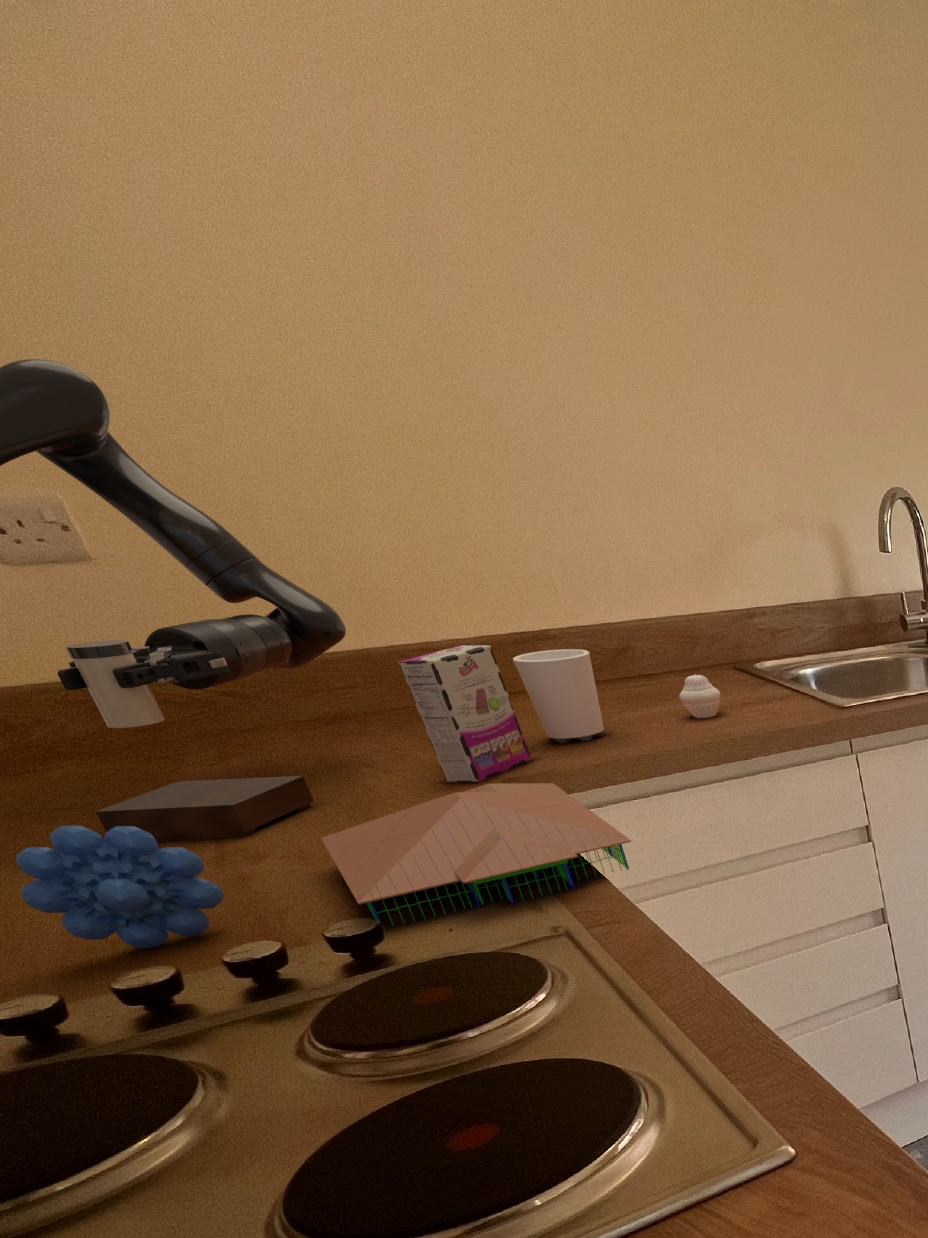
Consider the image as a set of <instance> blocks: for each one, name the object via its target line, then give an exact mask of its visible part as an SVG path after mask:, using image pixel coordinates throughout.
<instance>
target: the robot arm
mask: <svg viewBox="0 0 928 1238" xmlns="http://www.w3.org/2000/svg"><path fill="white" fill-rule="evenodd" d="M110 411H111V410H110V406H109V403H108V400H107V398H106V395H105V394H104V391H102V389H101V388H100V386H99V385H98V384H97V383H96V382H95V381H94V380H92V378H90V377H89V376H88V375H86V374H85V373H83V372H82V371H79V370H78V369H76V368H73V367H71V366H69V365H66V364H64V363H61V362H57V361H53V360H46V359H40V358H37V359H36V358H35V359H33V358H31V359H30V358H26V359H19V360H14V361H11V362H8V363H6V364H3V365H1V366H0V467H1V466H3V465H5V464H7V463H10V462H11V461H13V460H16V459H18V458H21V457H23V456H26V455H29V454H31V453H34V452H36V453H37V454H39V455H40V456H41V457H43V458H45V459H46V460H47V461H48V462H51V463H52V464H53V465H55V466H57V467H58V468H59V469H60V470H62V471H64V472H65V473H67V474H68V475H70V476H71V477H72V478H74V479H76V480H77V481H78V482H80V484H82V485H83V486H85V487H86V488H88V489H89V490H90V491H92V492H93V493H94V494H96V495H97V496H98V497H100V498H101V499H102V500H104V501H105V502H106V503H108V504H109V505H111V506H112V507H113V508H114V509H116V510H117V511H118V512H119V513H120V514H122V515H123V516H124V517H126V518H127V519H128V520H129V521H131V522H132V523H133V524H134V525H136V527H138V528H139V529H140V530H142V532H144V533H145V534H146V535H148V537H150V538H151V539H152V540H153V541H154V542H156V543H157V544H158V545H159V546H160V547H161V548H162V549H163V550H164V551H166V552H167V553H168V554H169V555H170V556H172V558H174V559H175V560H176V561H177V562H178V563H179V564H181V565H182V566H183V567H184V568H185V569H186V570H187V571H188V572H189V573H191V574H192V576H194V577H195V578H197V580H198V581H200V583H202V584H203V585H205V587H207V588H208V589H209V590H210V591H211V592H213V594H215V595H216V596H217V597H218V598H220V599H222V600H223V601H225V602H227V603H230V604H240V603H244V602H247V601H250V600H253V599H255V598H259V599H262V600H263V601H266V602H268V603H270V604H272V605H273V606H274V607H275V608H274V609H272V610H271V611H270V612H268V613H267V614H266V615H260V614H254V613H253V614H252V613H251V614H238V615H232V616H228V617H223V618H209V619H200V620H195V621H189V622H186V623H180V624H176V625H170V626H165V627H160V628H157V629H155V630H153V631H152V632H151V633H150V634H149V635H148V636H147V637H146V640H145V642H144V645H143V646H137V647H131V648H132V650H133V652H132V653H133V655H134V657H135V659H136V661H137V664H133V665H128V666H124V667H119V668H115V669H113V674H114V676H115V678H116V680H117V682H118V684H119V686H120V687H121V688H134V687H138V686H142V685H146V684H148V685H149V684H171V685H175V686H176V687H179V688H182V689H187V690H192V691H193V690H194V691H196V690H197V691H198V690H205V689H209V688H212V687H215V686H219V685H223V684H227V683H230V682H234V681H237V680H242V679H245V678H247V677H249V676H251V675H253V674H255V673H259V672H262V671H266V670H271V669H281V670H291V669H296V668H297V669H298V668H300V667H302V666H304V665H305V666H306V665H307V664H309V663H311V662H313V661H314V660H315V659H317V658H319V656H321V655H323V654H324V653H326V652H327V651H328V650H330V649H331V648H333V647H334V646H336V645H337V644H339V643H340V642H341V641H343V639H344V638H345V636H346V633H347V631H346V629H347V628H346V625H345V623H344V620H343V619H342V618H341V616H340V614H339V613H338V612H337V611H336V610H335V608H334V607H332V606H331V605H330V604H329V603H327V602H326V601H324V600H322V599H321V598H320V597H318V596H316V595H315V594H313V593H311V592H309V591H307V590H306V589H304V588H302V587H301V586H298V585H297V584H296V583H294V582H292V581H291V580H290V579H288V578H286V577H285V576H283V575H281V574H280V573H278V572H277V571H275V570H273V569H272V568H271V567H269V566H268V565H266V564H265V563H264V561H262V560H260V558H258V556H257V555H256V554H255V553H253V552H252V551H251V550H250V549H249V548H248V547H247V546H245V545H244V543H242V542H241V541H240V540H239V539H238V538H237V537H236V536H235V535H233V534H232V533H231V532H230V531H229V530H227V529H226V528H225V527H224V526H223V525H222V524H221V523H219V522H218V521H216V519H214V518H212V517H211V516H210V515H209V514H207V513H205V512H204V511H203V510H201V509H200V508H198V507H196V506H195V505H194V504H192V503H191V502H189V501H187V500H186V499H185V498H183V497H181V496H179V495H178V494H176V493H175V492H173V491H172V490H170V489H169V488H168V487H166V486H165V485H164V484H162V483H161V482H160V481H158V480H157V479H156V478H154V477H153V476H152V475H151V474H149V473H148V471H146V470H145V469H144V468H143V467H142V466H141V465H140V464H138V462H137V461H135V460H134V458H133V457H131V456H130V454H129V453H128V452H127V451H126V450H125V449H124V448H123V447H122V446H121V444H120V443H119V442H118V441H117V440H116V439H115V437H114V436H113V435H112V434H111V433H110V432H109V428H110V420H111V412H110ZM68 666H69V667H68V668H63V669H59V670H58V671H57V673H56V674H57V676H58V678H59V680H60V681H61V684H62V686H63V688H64V689H65V690H67V691H78V690H82V689H86V688H87V686H86V684H85V682H84V680H83V678H82V676H81V674H80V672H79V670H78V669H77V667H76V665H75V663H74V661H73V660H71V661H70V662H68ZM87 689H88V688H87Z"/></svg>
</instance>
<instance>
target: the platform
mask: <svg viewBox="0 0 928 1238" xmlns="http://www.w3.org/2000/svg"><path fill="white" fill-rule="evenodd" d="M314 802H315V800H314V797H313V795H312V793H311V790H310V788H309V786H308V784H307V782H306V780H305V777H304V776H303V775H288V776H287V775H286V776H268V777H266V776H263V777H245V778H223V779H222V778H221V779H203V780H202V779H201V780H199V779H198V780H180V781H175V782H173V783H170V784H168V785H167V784H166V785H165V786H162V787H159V788H156V789H154V790H151V791H147V792H145V793H143V794H140V795H137V796H135V797H131V798H128V799H127V800H123V801H120V802H118V803H114V804H112V805H110V806H109V805H108V806H107V807H104V808H102V809H98V810H96V811H95V815H96V816H97V818H98V820H99V822H100V823H101V825H102V827H103V830H104V831H105V833H107V832H108V831H109V830H111V829H112V828H114V827H116V826H134V827H137V828H139V829H141V830H144V831H146V832H148V833H150V834H152V836H153V837H154V838H155V839H156V841H157V842H167V841H186V840H187V841H188V840H205V839H206V840H207V839H223V838H225V839H226V838H243V837H246V836H248V835H251V834H254V833H255V832H257V828H259V827H261V826H263V825H266V824H268V823H270V822H272V821H274V820H276V819H278V818H281V817H283V816H285V815H287V814H290V813H292V812H302V811H304V810H305V809H308V808H311V807H312V806H311V804H312V803H314Z"/></svg>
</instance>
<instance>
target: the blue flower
mask: <svg viewBox="0 0 928 1238" xmlns="http://www.w3.org/2000/svg"><path fill="white" fill-rule="evenodd" d="M49 842H50V843H51V845H52V846H53V848H51V847H48V846H47V847H46V846H32V847H31V846H29V847H26V848H25V849H23V850H21V851H20V852H19V853H17V854H16V857H15V863H16V865H17V866H18V868H19V869H20V870H21V871H22V873H23V874H25V875H26V876H30V877H32V878H34V879H35V880H31V881H30V882H28V883H26V884H25V885H24V886H22V887H21V890H20V897H21V898H22V900H23V902H25V904H26V905H27V906H28V907H30V908H32V909H34V910H37V911H40V912H43V913H45V914H62V915H61V918H60V919H61V920H60V924H61V926H62V927H63V928H64V929H65V931H66V932H67V933H68V934H69V935H72V936H74V937H77V938H80V939H81V940H86V941H97V940H106V939H107V938H109V937H110V936H112V935H113V934H115V933H116V935H117V936H118V938H119V939H120V940H121V942H122V943H124V944H127V945H129V946H132V947H134V948H136V949H137V948H138V949H154V948H157V947H160V946H161V945H163V944H164V943H166V942H167V941H168V938H169V933H168V932H171V933H173V934H176V935H178V936H182V937H192V936H193V937H195V936H200V935H201V934H203V933H204V932H206V931H207V930H209V929H210V923H211V922H210V919H209V917H208V916H207V915H206V914H205V912H204V911H202V910H209V909H214V908H215V907H217V906H218V905H220V904H221V903H223V901H224V893H223V891H222V890H221V888H220V887H219V886H218V885H217V884H216V883H214V882H211V881H209V880H207V879H205V878H202V877H197V876H199V875H201V874H202V873H203V872H204V867H205V864H204V862H203V860H202V858H201V857H200V856H199V855H198V854H197V853H195V852H193V851H190V850H188V849H186V848H184V847H181V846H179V847H174V846H173V847H172V846H171V847H166V846H165V847H162V848H160V849H159V843H158V841H156V839H155V838H154V837H153V836H152V834H150V833H148V832H146V831H144V830H141V829H139V828H137V827H134V826H116V827H114V828H112V829H111V830H109V831H108V832H107V833H106V832H105V833H104V838H103V837H102V835H101V834H100V833H98V832H96V831H94V830H93V829H90V828H88V827H85V826H82V825H61V826H59V827H57V828H55V829H53V830H52V831H51V832H50V835H49ZM36 879H37V880H36Z"/></svg>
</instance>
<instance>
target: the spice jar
mask: <svg viewBox="0 0 928 1238" xmlns="http://www.w3.org/2000/svg"><path fill="white" fill-rule="evenodd" d="M64 648H65V651H66V652H67V654H68V656H69V658H70V659H72V661H74V663H75V665H76V667H77V669H78V670H79V672H80V674H81V676H82V678H83V680H84V682H85V684H86V686H87V689H88V691H89V694H90V695H91V698H92V699H93V702H94V703H95V705H96V707H97V709H98V711H99V713H100V715H101V716H102V719H103V720H104V722H105V724H106V726H107V728H110V729H127V728H137V727H143V726H150V725H155V724H159V723H162V722H164V721H166V718H165V716H164V714H163V712H162V710H161V708H160V706H159V703H158V701H157V700H156V698H155V696H154V693H153V691H152V689H151V688H150V685H149V684H146V685H142V686H138V687H134V688H121V687H120V686H119V684H118V682H117V680H116V678H115V676H114V674H113V669H115V668H119V667H124V666H128V665H133V664H137V661H136V659H135V657H134V655H133V653H132V652H133V650H132V648H133V647H132V646H131V644H130V642H129V640H125V639H111V640H110V639H109V640H95V641H87V642H78V643H73V644H67V645H65V647H64Z"/></svg>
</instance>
